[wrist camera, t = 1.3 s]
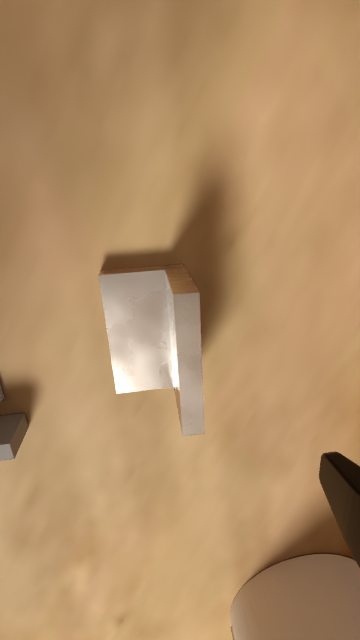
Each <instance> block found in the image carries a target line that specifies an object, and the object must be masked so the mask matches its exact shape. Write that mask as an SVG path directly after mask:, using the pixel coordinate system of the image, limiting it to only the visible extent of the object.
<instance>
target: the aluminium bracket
mask: <svg viewBox="0 0 360 640" xmlns="http://www.w3.org/2000/svg"><path fill="white" fill-rule="evenodd" d="M99 281H100V288H101V294H102V301H103V308H104V314H105V321H106V327H107V334H108V340H109V347H110V354H111V360H112V367H113V373H114V380H115V386H116V393H126V392H135V391H144V390H153V389H161V388H170V387H174V391H175V396H176V402H177V408H178V413H179V419H180V424H181V430H182V436H191V435H198V434H205V430H204V402H203V375H202V348H201V321H200V293H199V291H198V289H197V287H196V286H195V284H194V282H193V280H192V278H191V277H190V275H189V273H188V271H187V270H186V268H185V266H184V264H176V265H164V266H152V267H140V268H128V269H116V270H104V271H100V273H99Z"/></svg>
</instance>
